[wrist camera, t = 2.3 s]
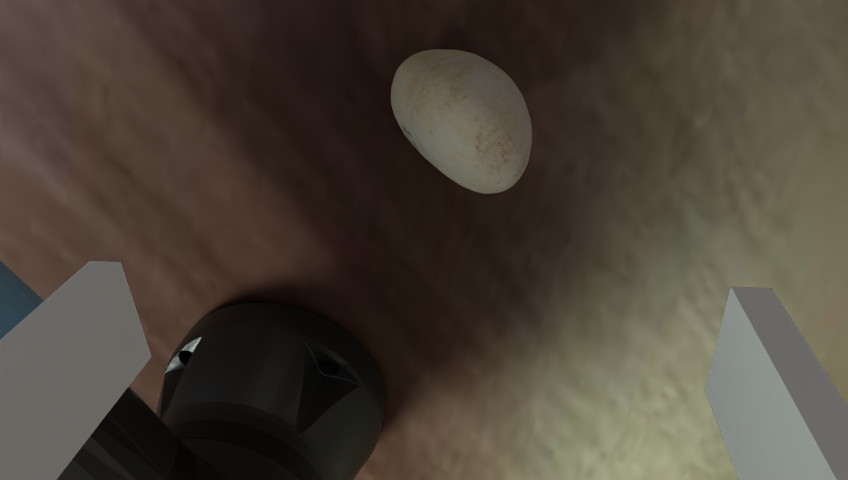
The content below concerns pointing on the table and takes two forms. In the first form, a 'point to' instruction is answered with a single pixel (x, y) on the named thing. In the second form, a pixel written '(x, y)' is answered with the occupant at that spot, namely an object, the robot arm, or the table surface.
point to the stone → (464, 118)
